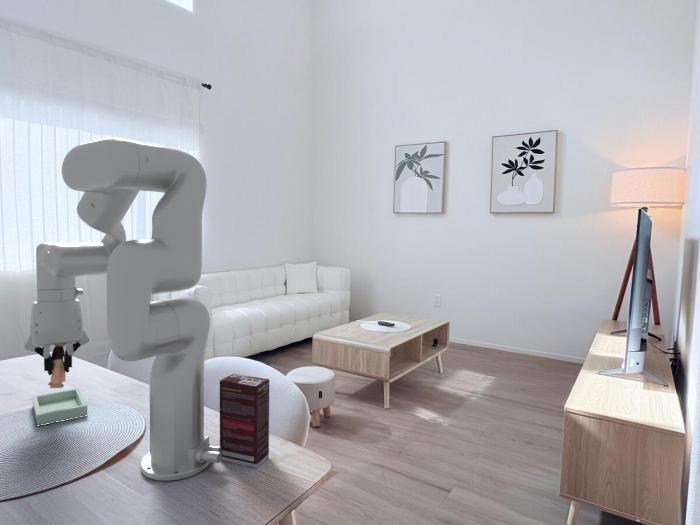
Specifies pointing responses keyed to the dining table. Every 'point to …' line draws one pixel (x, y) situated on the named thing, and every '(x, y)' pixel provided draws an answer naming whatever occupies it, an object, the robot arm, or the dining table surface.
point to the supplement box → (244, 420)
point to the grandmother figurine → (58, 367)
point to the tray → (59, 406)
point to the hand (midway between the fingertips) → (58, 371)
